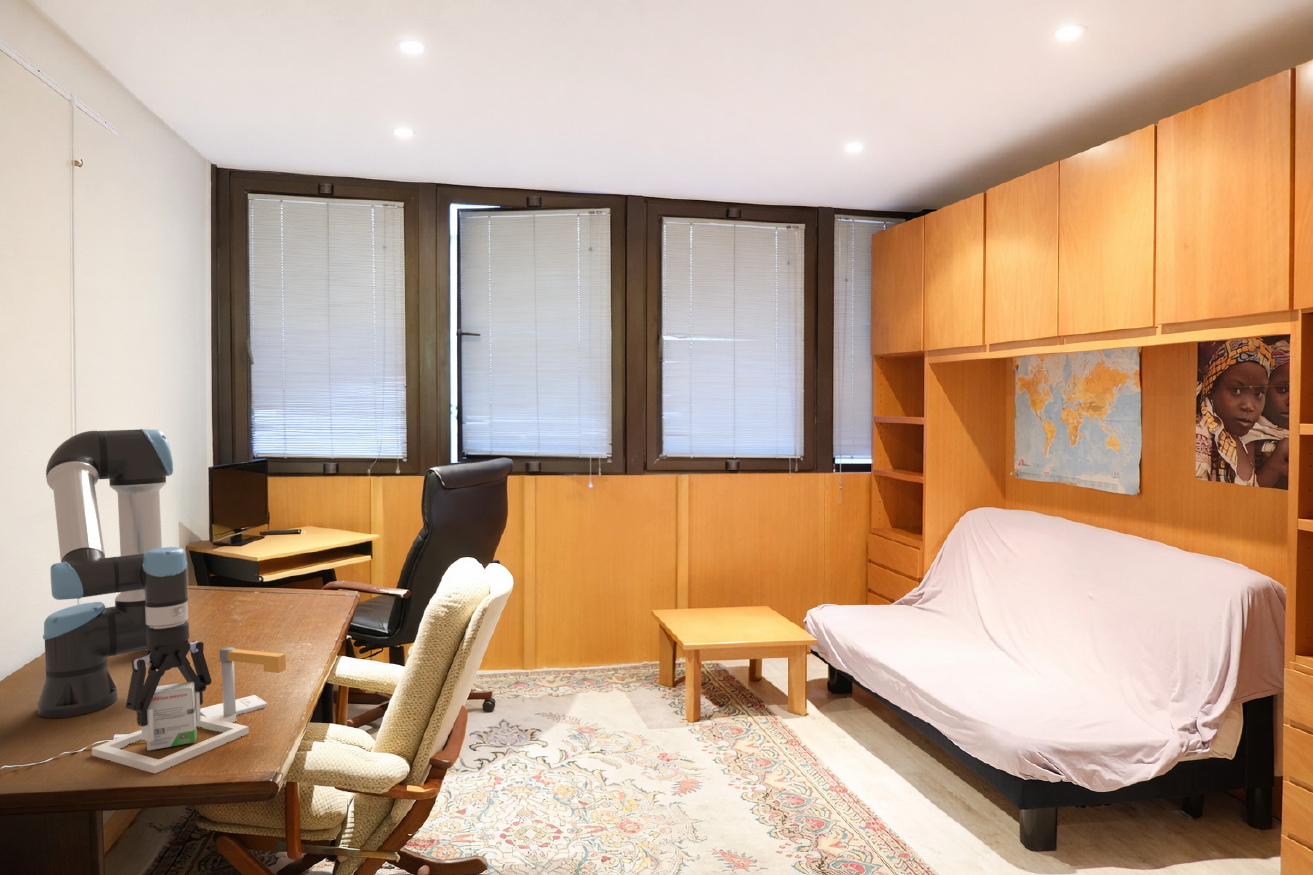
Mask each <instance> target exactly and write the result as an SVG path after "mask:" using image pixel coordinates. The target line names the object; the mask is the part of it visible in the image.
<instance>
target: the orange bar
mask: <svg viewBox="0 0 1313 875" xmlns="http://www.w3.org/2000/svg"><path fill="white" fill-rule="evenodd" d="M218 652H219V662H220V663H221V662H228V661H234V662H238V663H245V664H255V665H256V664H257V665H263V672H264V673H265V672H266V673H267V672H268V673H275V674H277V673H278V674H279V673H282V672H284V671H286V670H287V669H286V668H287V667H286V666H287V665H286V653H279V652H271V651H270V652H268V651H260V650H259V651H257V650H250V649H249V650H248V649H241V648H240V649H239V648H235V647H234V646H228V647H223V648H220V649H219V651H218Z"/></svg>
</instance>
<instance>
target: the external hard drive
mask: <svg viewBox="0 0 1313 875" xmlns="http://www.w3.org/2000/svg"><path fill="white" fill-rule="evenodd" d="M235 705H236V715H237V716H239V715H238V714H240V715H242V714H241V713H244V714H248V713H251V712H254V710H255V711H258V710H257V709H259V710H262V709H266V708H268V702H266V701H265V700H263V699H262V698H261V697H259V696H257V695H255V694H253V695H248V696H245V697H241V698H237V699H236V698H235ZM265 707H266V708H265ZM261 708H262V709H261ZM222 714H223V702H221V703H218V704H212V705H210V706H206V707H202V708H201V707H200V715H201V716H205V717H209V718H215V717H217V716H220V715H222Z"/></svg>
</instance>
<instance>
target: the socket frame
mask: <svg viewBox="0 0 1313 875" xmlns="http://www.w3.org/2000/svg"><path fill="white" fill-rule="evenodd" d="M220 663H221V680H222V682H221V684H222V703H223V714H222V715H220V716H217V717H215V718H209V717H205V716H201V715H200V719H201V722H200V723H196V724H197V726H199V727H198V728H200V727H202V728H201V729H205V730H209V731H213V732H217V731H219V732H218V733H220V734H217V735H215V736H213V737H209V738H208V739H206V740H203V741H200V742H198V743H195V744H193V745H191V746H188V747H186V748H184V749H182V750H181V749H180V750H179V751H177V752H173V753H171V754H169V755H166V756H164V757H162V758H159V759H157V758H154V757H149V756H146V755H142V754H139V753H135V752H132V751H128V750H125V749H123V748H125V746H126V747H128V746H129V745H128V744H129V743H131V742H135V741H136V740H139V739H141V738H142V730H141V729H140V730H137V731H134V732H131V733H128V734H126V735H124V736H120V737H117V738H116V739H112V740H110V741H107V742H105V743H102V744H99V745H96V746H94V747H91V756H93V757H96V758H99V759H103V760H105V761H106V760H107V761H109V760H110V761H109V762H113V763H117V764H120V765H123V766H124V765H125V766H127V767H131V768H133V769H137V770H141V771H144V772H147V773H150V774H151V773H152V774H154V775H155V774H157V773H160V772H163V771H165V770H167V769H169V768H172V767H174V766H176V765H179V764H181V763H184V762H185V761H188V760H190V759H193V758H195V757H197V756H200V755H202V754H204V753H207V752H209V751H211V750H213V749H216V748H219V747H220V746H223V745H226V744H228V743H231V742H232V741H234V740H236V739H239V738H242V737H244V736H246V735H248V734H249V732H250V731H249V730H250V728H249V726H247V725H243V724H239V723H236V722H237V716H236V705H235V700H236V686H235V685H236V683H235V681H236V680H235V679H236V678H235V661H228V662H220ZM235 721H236V722H235ZM233 722H234V723H233ZM221 732H222V733H221ZM241 736H242V737H241ZM227 742H228V743H227ZM127 745H128V746H127ZM120 748H121V749H120ZM171 766H172V767H171Z"/></svg>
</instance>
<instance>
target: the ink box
mask: <svg viewBox="0 0 1313 875" xmlns="http://www.w3.org/2000/svg"><path fill="white" fill-rule="evenodd" d="M149 708H152V709H153V726H154V741H151V742H149V741H146V750H147V751H153V750H159V749H165V748H170V747H176V746H182V745H188V744H194V743H196V741H197V737H198V729H197V728H198V727H197V724H196V707H195V690H194V682H187V681H186V682H181V683H180V682H179V683H173V684H166V685H164V684H163V685H158V686H157V688H156V691H155V693H154V696H153V698H152V700H151V703H150V705H149Z"/></svg>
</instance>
